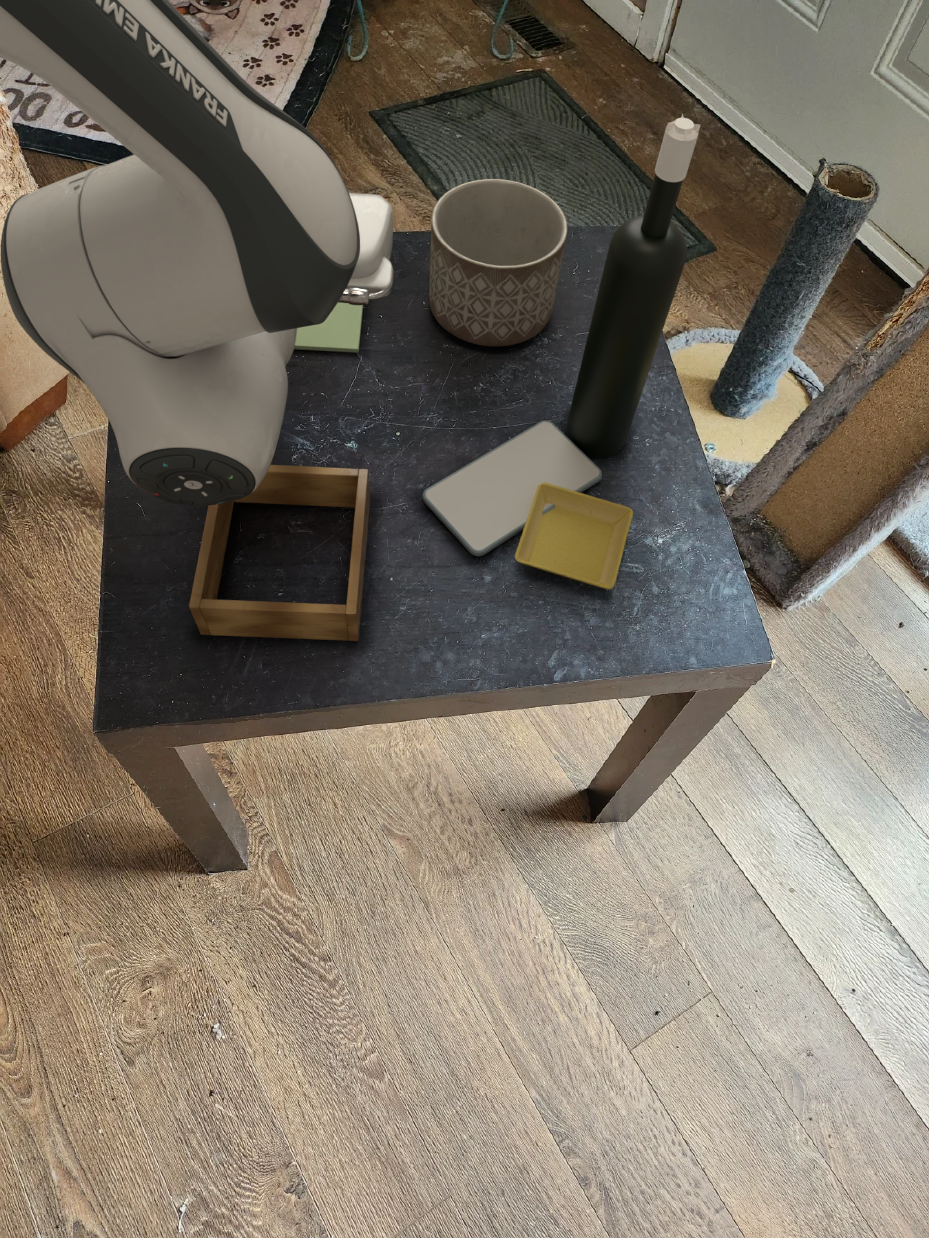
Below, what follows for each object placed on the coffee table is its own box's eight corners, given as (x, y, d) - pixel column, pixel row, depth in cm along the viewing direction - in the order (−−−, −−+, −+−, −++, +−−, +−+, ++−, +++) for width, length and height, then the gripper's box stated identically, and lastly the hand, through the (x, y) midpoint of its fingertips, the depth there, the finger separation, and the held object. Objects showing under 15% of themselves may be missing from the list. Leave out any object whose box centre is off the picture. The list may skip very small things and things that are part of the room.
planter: (448, 257, 93) (453, 166, 84) (562, 285, 92) (580, 196, 83) (413, 337, 87) (414, 248, 78) (535, 368, 86) (550, 281, 77)
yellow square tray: (607, 602, 73) (613, 590, 72) (509, 572, 74) (513, 559, 72) (628, 522, 77) (634, 508, 76) (535, 494, 78) (539, 480, 76)
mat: (214, 345, 85) (213, 341, 85) (229, 275, 90) (228, 271, 89) (358, 353, 86) (358, 349, 85) (365, 283, 91) (365, 279, 90)
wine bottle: (628, 460, 81) (734, 153, 55) (567, 457, 81) (644, 148, 55) (623, 413, 84) (721, 100, 58) (563, 410, 84) (636, 95, 57)
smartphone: (418, 492, 77) (547, 416, 82) (418, 498, 78) (545, 423, 82) (476, 556, 74) (606, 473, 79) (476, 562, 75) (604, 480, 80)
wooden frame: (200, 635, 70) (188, 607, 66) (226, 494, 76) (216, 461, 73) (358, 641, 70) (356, 614, 66) (370, 501, 77) (368, 469, 73)
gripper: (390, 264, 55) (401, 134, 62) (62, 243, 54) (110, 114, 61) (391, 340, 61) (401, 213, 68) (93, 323, 60) (134, 196, 67)
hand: (260, 166), depth 64 cm, fingers closed on ink box, 6 cm apart
